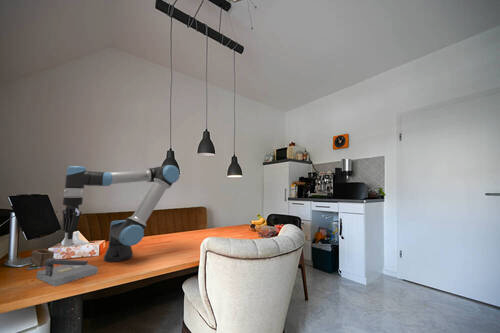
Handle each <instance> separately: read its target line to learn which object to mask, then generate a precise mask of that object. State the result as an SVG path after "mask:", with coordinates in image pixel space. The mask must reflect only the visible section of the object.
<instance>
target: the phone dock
mask: <svg viewBox="0 0 500 333" xmlns="http://www.w3.org/2000/svg"><path fill="white" fill-rule="evenodd" d="M54 254H55V252H54V251H53V250H49V249H45V248H42V249H36V250H34V249H33V250H31V255H30V262H31V263H32V264H34V265H36V266H38V267H44V266H47V265H45V264H46V260H47V259H51V258H54V256H55V255H54ZM32 264H30V266H31V265H32Z"/></svg>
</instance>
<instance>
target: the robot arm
mask: <svg viewBox="0 0 500 333" xmlns="http://www.w3.org/2000/svg"><path fill="white" fill-rule="evenodd" d="M180 176H181V174H180V170H179V168H178V167H177V166H175V165H174V164H173V165H171V164H167V165H161V166H156V167H151V168H150V167H148V168H146V169H141V170H138V169H137V170H124V171H123V170H121V171H90V170H87V168H86V166H79V165H70V166H67V171H66V174H65V182H64V190H62V191H63V193H64V194H63V196H64V197H63V198H62V205H63V206H65V210H62V230H63V231H64V232H65V233H64V240H63V247H70V246H73V238H74V232H77V229H78V225H79V221H80V216H82V211H79V210H80V208H79V206H82V204H83V201H84V198H83V196H84V191H85V186H89V187H92V186H94V187H110V186H111V185H115V184H128V183H139V182H147V183H153V184H152V185H151V187H150V189H149V190H148V191H147V193H146V195H144V197H143V198H142V200H141V201H140V204H139V205H138V206H137V209H135V211H134V212H133V214H132V215H131V216H129V217H126V219H122V220H121V219H120V220H112V221H111V222H110V226H109V235H108V236H109V237H108V238H109V239H108V246H107V249H106V251H105V254H104V255H103V256H104V257H103V261H105V262H107V263H108V262H109V263H115V262H116V263H117V262H118V263H119V262H123V261H127V260H130V259H132V258H133V255H134V254H133V249H132V246H135V245H137V244H139V243H140V242H141V241H142V239H143V238H144V236H145V232H144V231H145V229H146V227H147V221H148V219H149V218H150V216H151V214H152V213H153V211H154V210H155V209H156V207H157V205H158V203H159V201H160V200H161V198H162V197H163V196H164V194H165V192H166V190H168V189H170V188H171V187H172V185H173V184H174V183H177V182H178V180H179V179H180Z"/></svg>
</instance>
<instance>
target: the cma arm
mask: <svg viewBox="0 0 500 333" xmlns="http://www.w3.org/2000/svg"><path fill="white" fill-rule="evenodd" d="M52 264H54V265H58V266H62V265H81V266H85V265H87V264H89V263H88V260H83V259H82V260H80V259H79V260H77V259H58V258H54V257H53V258H51V259H47V260H46V264H45V265H52Z"/></svg>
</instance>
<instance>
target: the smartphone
mask: <svg viewBox="0 0 500 333" xmlns="http://www.w3.org/2000/svg"><path fill="white" fill-rule="evenodd" d="M41 269H42V270H43V269H46V266H44V267H38V266H36V265H34V264H32V265H31V264H30V266H29V267H27V268H25V271H32V270H41Z"/></svg>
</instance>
